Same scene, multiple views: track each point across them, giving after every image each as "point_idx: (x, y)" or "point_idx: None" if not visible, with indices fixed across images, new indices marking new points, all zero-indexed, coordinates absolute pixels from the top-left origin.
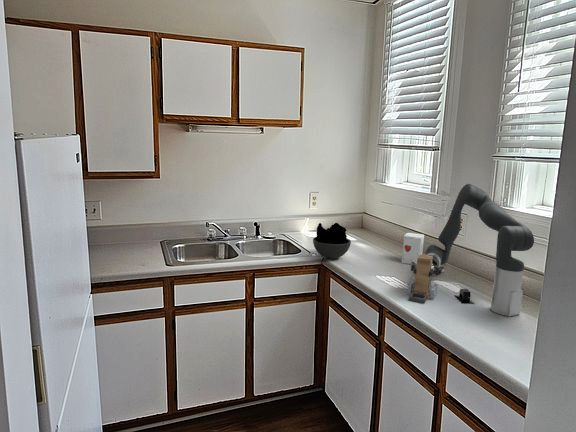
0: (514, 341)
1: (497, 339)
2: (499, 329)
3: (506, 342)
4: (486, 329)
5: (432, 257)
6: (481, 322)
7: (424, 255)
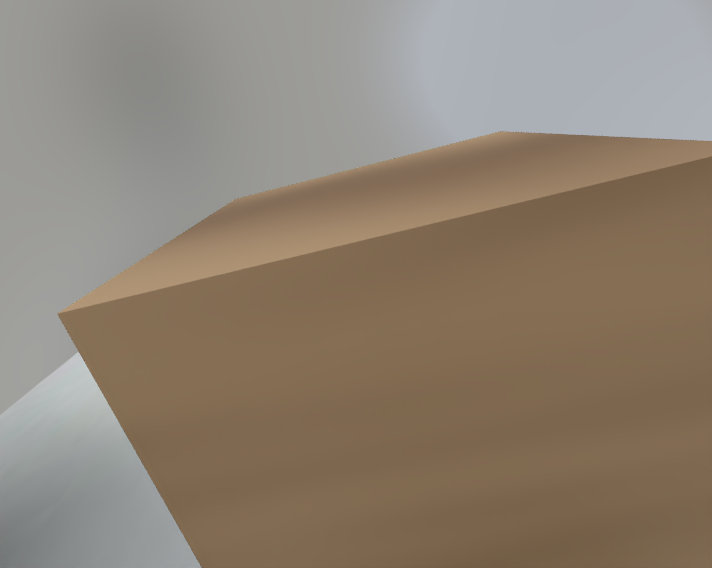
0: (33, 411)
1: (91, 390)
2: (20, 462)
3: (70, 391)
4: (88, 428)
5: (90, 360)
6: (68, 478)
7: (460, 200)
